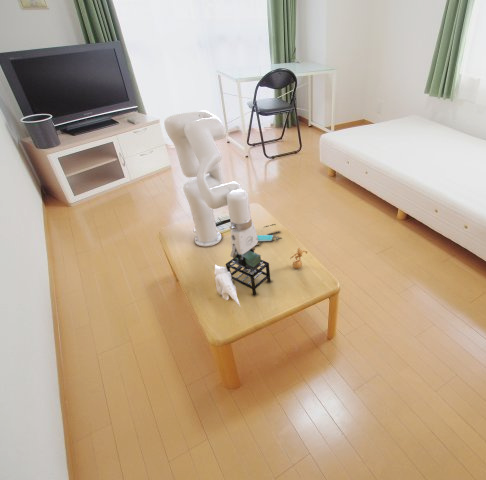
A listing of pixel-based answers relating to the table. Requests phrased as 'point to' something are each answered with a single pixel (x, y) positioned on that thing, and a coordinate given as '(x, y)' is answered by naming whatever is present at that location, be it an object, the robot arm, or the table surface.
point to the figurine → (298, 263)
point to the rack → (249, 274)
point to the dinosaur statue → (225, 283)
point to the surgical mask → (267, 236)
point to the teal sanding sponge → (251, 260)
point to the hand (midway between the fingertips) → (247, 261)
